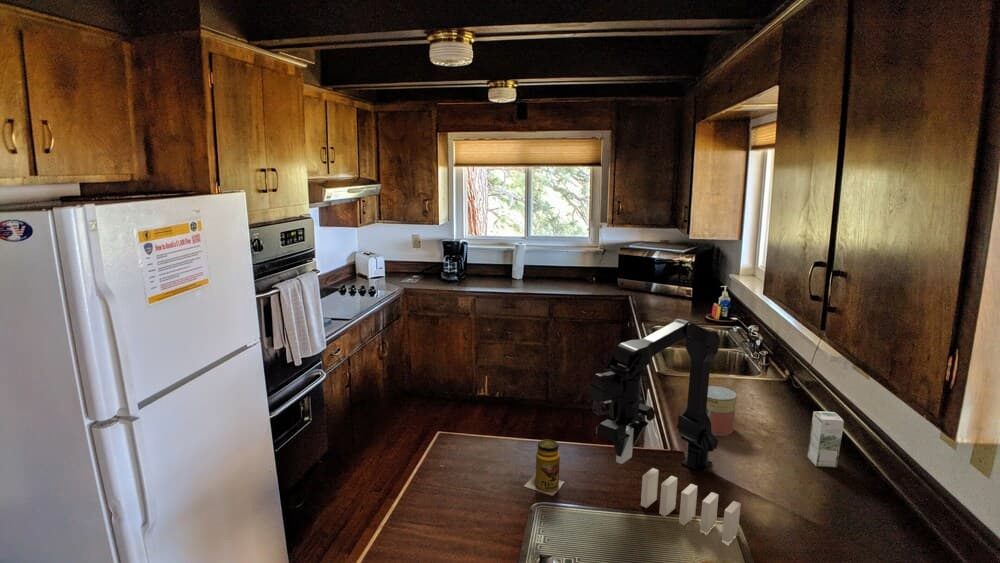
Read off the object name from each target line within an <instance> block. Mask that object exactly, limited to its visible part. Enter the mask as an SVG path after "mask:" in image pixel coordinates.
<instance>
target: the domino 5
mask: <svg viewBox="0 0 1000 563" xmlns="http://www.w3.org/2000/svg"><path fill="white" fill-rule="evenodd" d="M719 496H720V495H719V494H718V493H716V492H713V491H711V492H710V493H709V494H708V495H707V496H706V497H705V498H704V499H703V500H702V502H701V512H700V523H699V525H700V526H699V531H700V530H702V531H704V532H706V533H707V532H708V531H709V530H710V528H712V527H713V525H714V524H715V523H716V524H717V518H718V517H717V515H718V505H719V504H718V503H719V498H720V497H719Z"/></svg>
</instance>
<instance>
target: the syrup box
mask: <svg viewBox="0 0 1000 563" xmlns="http://www.w3.org/2000/svg"><path fill="white" fill-rule="evenodd" d="M844 424H845V421H844V419H843V418H842V417H841V416H840V415H839V414H838V413H836V412H835V411H823V410H822V411H817V410H815V411H813V412H812V419H811V428H810V432H809V433H810V435H809V442H808V447H807V458H808V459H809V460H810V461H811V463H812V464H814V466H815V467H820V468H823V467H824V468H838V462H839V456H840V451H841V450H840V449H841V443H842V437H843V430H844Z"/></svg>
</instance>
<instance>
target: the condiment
mask: <svg viewBox="0 0 1000 563" xmlns="http://www.w3.org/2000/svg"><path fill="white" fill-rule="evenodd" d="M535 456H536V458H535V473H534V474H533V476H532V477H531V478H530V479H529V480H528V481H527V482H526V483H525V484H524V485H523V487H525V488H527V489H530V490H535V491H537V492H539V493H543V494H546V495H549V496H551V497H552V496H553V497H554V496H555V494H556V493H557V492H558V491H559V490H560V489H561V487H562V486H563V484H564V483H565V481H564V480H560V459H561V458H560V457H561V456H560V452H559V444H558V442H557V441H556V440H554V439H549V438H548V439H546V438H545V439H542V440H540V441H539V442H538V443H537V451H536V454H535Z"/></svg>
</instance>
